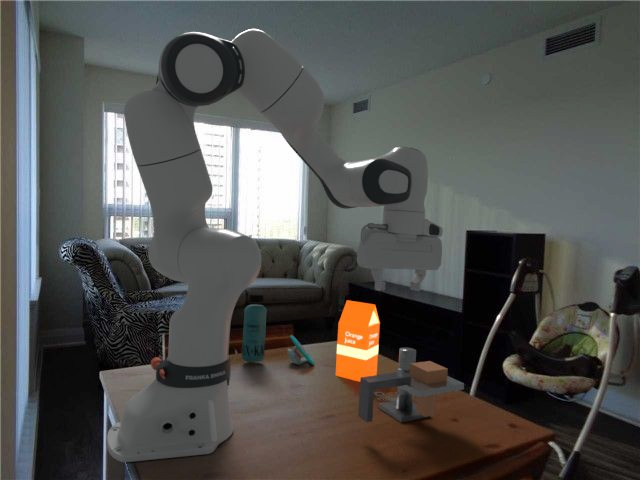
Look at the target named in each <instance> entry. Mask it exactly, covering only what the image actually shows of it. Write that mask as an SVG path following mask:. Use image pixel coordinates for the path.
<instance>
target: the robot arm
mask: <svg viewBox="0 0 640 480" xmlns="http://www.w3.org/2000/svg"><path fill="white" fill-rule="evenodd" d="M234 92H235V93H237V94H239V95H241V96H242V97H243V98H245V99H246V100H247V101H248V102H250V103H251V104H252V105H253V107H254V108H256V109H257V111H258V112H260V114H261V115H263V117H264V118H266V119H267V120H268V122H270V123H271V124H272V125H273V127H274V128H275V129H276V130H278V132H279V133H280V134H281V136H282V138H284V140H285V141H286V143H287V144H288V145H289V147H290V148H291V149H292V150H293V152H295V153H296V155H297V157H299V158H300V159H301V161H303V163H304V164H305V165H306V166H307V167H308V168H309V169H310V170H311V172H312V173H313V174H314V175H315V176H316V177H317V179H318V180H319V181H320V183H321V185H322V187H323V189H324V191H325V194H326V196H327V198H328V199H329V200H330V202H331V203H332V204H334V206H336V207H338V208H340V209H344V210H345V209H355V208H368V207H369V208H372V207H383V211H382V221H381V223H373V222H368V223H367V224H365V225H364V226H363V227H362V228H361V229H360V240H359V245H358V249H357V255H356V256H357V257H356V263H357V265H358V266H359V267H360V268H365V269H370V273H371V276H372V278H373V281H374V290H375V291H379V292H380V291H385V290H386V284H387V283H386V281H383V279H382V276H381V275H382V274H383V270H410V271H411V270H414V274H415V277H414V279H413V281H410V283H409V284H410V287H409V289H410V290H411V291H415V292H416V291H421V286H422V282H423V281H424V279H425V277H426V276H427V271H437V270H439V268H441V265H442V260H443V259H442V258H443V242H442V240H441V237H442V236H443V233H444V232H443V231H444V229H443V227H442V226H440V225H438V224H436V223H434V222H432V221H431V220H429V219H428V218H426V209H425V200H426V196H427V194H428V184H429V183H428V182H429V181H428V178H429V167H428V161H427V156H426V155H425V154H424V152H422V151H420V150H418V149H416V148H414V147H407V146H397V147H394V148H392V149H391V150H390V151H388V152H386V154H383V155H380V156H377V157H373V158H370V159H363V160H357V161H349V160H346V159H344V158H341V157H340V156H339V155H338V154H337V153H336V151H335V150H334V149H333V148H332V147H331V146H330V144H329V143H328V142H327V140H326V139H325V138H324V137H323V136H322V134H321V133H320V131H319V129H318V123H319V121H320V119H321V117H322V116H323V112H324V108H325V107H324V106H325V96H324V95H325V94H324V92H323V90H322V88H321V86H320V84H319V83H318V81H317V80H316V79H315V77H314V76H313V75H312V74H311V73H310V72H309V70H307V69H306V68H305V67H304V65H303V64H302V63H301V62H300V61H299V60H298V59H297V58H296V57H295V56H294V55H293V54H292V53H291V52H290V51H289V50H288V49H287V48H285V47H284V46H283V45H281V44H280V43H279V41H277V40H275V39H274V38H273V37H272V36H270V35H269V34H267V33H266V32H265V31H263V30H260V29H257V28H251V29H247V30H245V31H243V32H240V33H239V34H237V35H236V36H235V37H234V38H233V39H232V40H231V41H230V40H227V39H224V38H220V37H216V36H214V35H212V34H209V33H205V32H198V31H197V32H196V31H191V32H190V31H189V32H183V33H181V34H179V35H176V36H175V37H173V39H171V40H169V42H168V43H166V45H165V46H164V48H163V49H162V51H161V54H160V56H159V61H158V72H157V77H156V82H155V85H154V86H152V87H150V88H146V89H142V90H140V91H139V92H137V93H135V94H133V95H131V97H130V98H129V99H128V100H127V101H126V103H125V105H124V107H123V115H124V122H125V128H126V132H127V133H126V134H127V137H128V141H129V142H128V143H129V145H130V149H131V152H132V156H133V159H134V162H135V164H136V167H137V170H138V173H139V176H140V179H141V182H142V185H143V187H144V190H145V192H146V197H147V198H148V201H149V205H150V209H151V213H152V221H153V223H152V225H153V237H151V240H150V242H149V245H148V250H147V254H148V261H149V263H150V265H151V267H152V268H153V269H154V270H155V271H156V272H158V273H159V274H161V275H163V276H164V277H166V278H168V279H169V280H172V281H175V282H180V283H186V284H187V291H186V294H185V298H184V301H183V303H182V305H181V306H180V307H179V308H178V309H177V310H175V311H174V312H173V313H172V315H171V316H170V319H169V327H168V328H169V329H168V351H167V353H168V354H167V357H166V358H165V359H163V360H162V359H161V358H160V357H157V356H156V357H153V358H152V359H151V361H150V366H151V367H152V368H151V369H153V370H154V371H155V379H154V380H153V381H152V382H151V383H149V384H148V385H146V386H145V387H143V389H141V390H140V391H138V392H137V393H136V394H135V395H133V396H132V397H130V398H129V399H128V401H127V402H126V404H125V406H124V408H123V412H122V416H121V421H119V422H116V423H114V424H113V425H112V426H111V427H110V428H109V430H108V432H107V434H106V449H107V451H108V453H109V455H110V456H111V457H112V458H113V459H115V460H116V461H118V462H121V463H132V462H141V461H150V460H153V461H154V460H159V459H160V460H162V459H168V458H169V459H170V458H171V459H173V458H181V457H191V456H201V455H209V454H211V453H213V452H214V451H215V450H216V449H217V447H218V446H219V445H220V444H222V443H223V442H224V441H226V440H228V439H229V438H230V437H231V436H232V434H233V433H234V429H235V428H234V423H233V419H232V416H231V415H232V413H231V410H230V409H231V407H230V401H229V399H230V398H229V386H230V381H231V371H232V369H231V368H232V367H231V366H232V365H231V357H230V356H229V351H230V350H229V348H230V333H231V321H232V317H233V314H234V309H235V307H236V304H237V302H238V301H239V298H240V296H241V295H242V293H244V291H245V289H247V288H249V286H251V285H252V284H253V283H254V282H255V280H256V279H257V278H258V276H259V274H260V271H261V267H262V253H261V249H260V246H259V245H258V243H257V242H256V240H254V238H252V237H250V236H248V235H246V234H244V233H241V232H238V231H235V230H232V229H228V228H219V227H218V228H215V227H210V226H209V224H208V222H207V220H206V203H207V202H208V201H209V200H210V199H211V197H212V195H213V190H214V189H213V183H212V181H211V177H210V174H209V170H208V167H207V163H206V161H205V159H204V158H205V157H204V155H203V151H202V148H201V145H200V142H199V139H198V136H197V133H196V128H195V121H194V120H195V118H194V117H195V113H196V112H197V109H198V108H199V107H204V106H209V105H213V104H215V103H217V102H219V101H221V100H222V99H224V98H226V97H227V96H228V95H230V94H232V93H234Z"/></svg>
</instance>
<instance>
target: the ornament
mask: <svg viewBox="0 0 640 480" xmlns="http://www.w3.org/2000/svg"><path fill="white" fill-rule="evenodd" d="M289 337H290V339H291V342H292V343H293V344H294V346H295V347H294V349H291V348H287V356H288V357H289V359H290V360H291V361H292V363H294V364H295V365H297V366H301V365H302V360H301V358H305V359H306V361H307V362H308V363H309V364H310V365H313V366H315V362H314V359H313V358H312V356H311V355H310V353H308V351H307V350H306V348H305V347H304V345H302V344H301V342H300V341H299V340H298V339H297V338H296V337H295V336H293V335H292V334H291V335H290V336H289Z"/></svg>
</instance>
